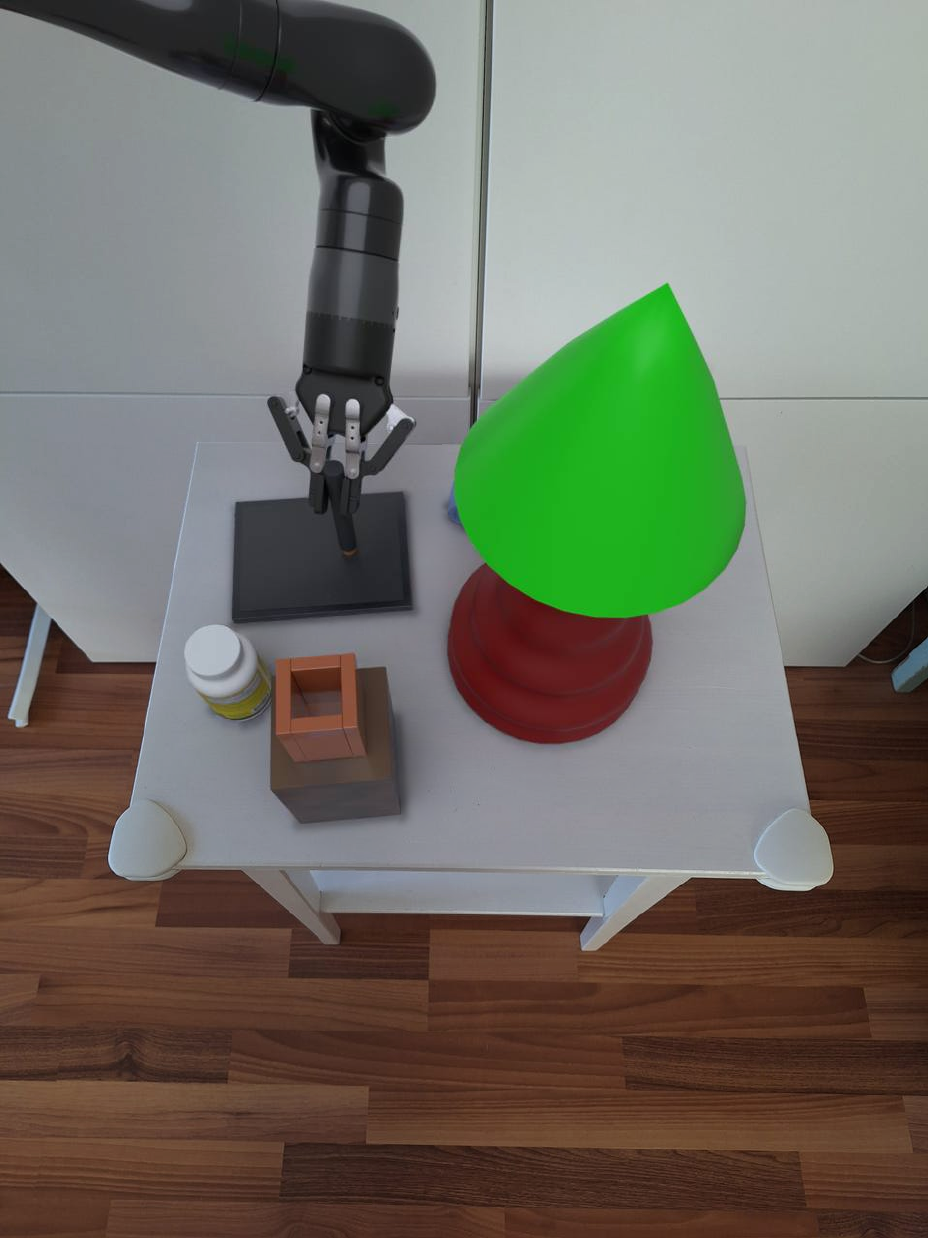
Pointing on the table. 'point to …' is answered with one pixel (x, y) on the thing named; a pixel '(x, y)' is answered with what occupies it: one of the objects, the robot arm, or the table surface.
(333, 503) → the stylus
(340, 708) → the pen cup
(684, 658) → the table surface
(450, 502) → the decorative dice
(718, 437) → the table lamp
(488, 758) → the table surface
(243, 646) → the pill bottle
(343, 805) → the stand
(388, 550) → the tablet
